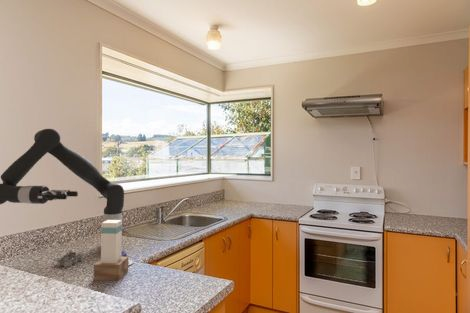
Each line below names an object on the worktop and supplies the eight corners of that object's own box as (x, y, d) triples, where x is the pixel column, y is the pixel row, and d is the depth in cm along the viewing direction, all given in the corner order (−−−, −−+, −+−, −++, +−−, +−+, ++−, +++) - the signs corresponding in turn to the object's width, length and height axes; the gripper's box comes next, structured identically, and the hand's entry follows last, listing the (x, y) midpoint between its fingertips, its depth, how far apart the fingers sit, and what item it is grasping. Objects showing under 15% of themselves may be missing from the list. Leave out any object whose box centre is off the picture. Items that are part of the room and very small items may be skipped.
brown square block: (104, 270, 132) (104, 256, 132) (128, 270, 132) (128, 256, 132) (93, 279, 122) (93, 264, 122) (118, 280, 122) (119, 265, 122)
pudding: (98, 267, 136) (98, 255, 136) (116, 258, 147) (116, 247, 147) (122, 270, 132) (122, 258, 132) (138, 261, 144) (138, 250, 144)
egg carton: (71, 258, 147) (72, 249, 147) (85, 260, 145) (85, 251, 145) (53, 266, 136) (53, 256, 136) (68, 267, 134) (68, 258, 134)
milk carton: (107, 257, 130) (107, 219, 130) (121, 258, 130) (122, 220, 130) (100, 262, 124) (101, 222, 124) (115, 263, 124) (116, 223, 124)
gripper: (22, 187, 124) (62, 188, 124) (44, 184, 138) (80, 184, 138) (22, 206, 124) (62, 206, 124) (44, 200, 138) (80, 201, 138)
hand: (72, 195), depth 131 cm, fingers open, 8 cm apart
